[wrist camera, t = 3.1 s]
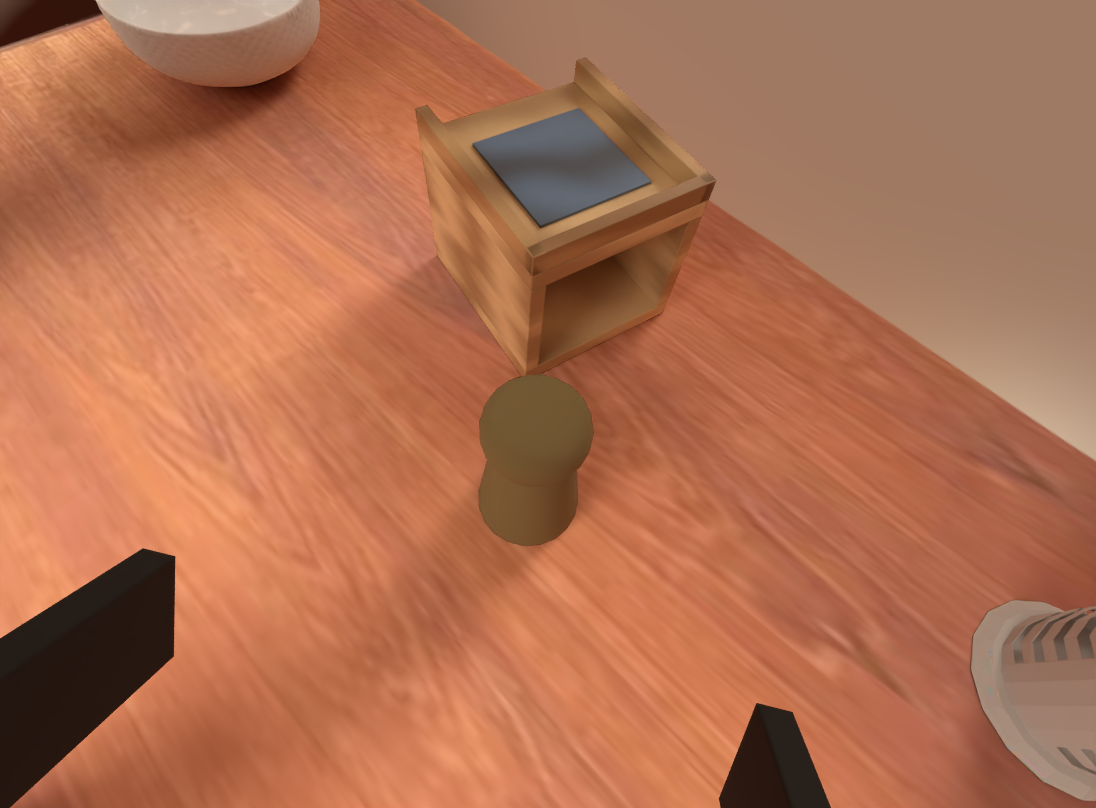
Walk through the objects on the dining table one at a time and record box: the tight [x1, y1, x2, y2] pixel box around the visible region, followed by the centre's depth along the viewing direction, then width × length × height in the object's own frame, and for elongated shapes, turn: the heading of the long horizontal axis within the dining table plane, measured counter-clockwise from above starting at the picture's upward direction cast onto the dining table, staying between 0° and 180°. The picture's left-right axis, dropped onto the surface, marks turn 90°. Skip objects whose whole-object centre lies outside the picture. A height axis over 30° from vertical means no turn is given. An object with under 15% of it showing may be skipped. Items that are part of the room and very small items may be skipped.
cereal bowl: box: [96, 0, 320, 87], centre depth 48 cm, size 17×17×7 cm
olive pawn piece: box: [479, 375, 594, 546], centre depth 28 cm, size 6×6×11 cm
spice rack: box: [415, 58, 716, 376], centre depth 36 cm, size 13×12×12 cm
